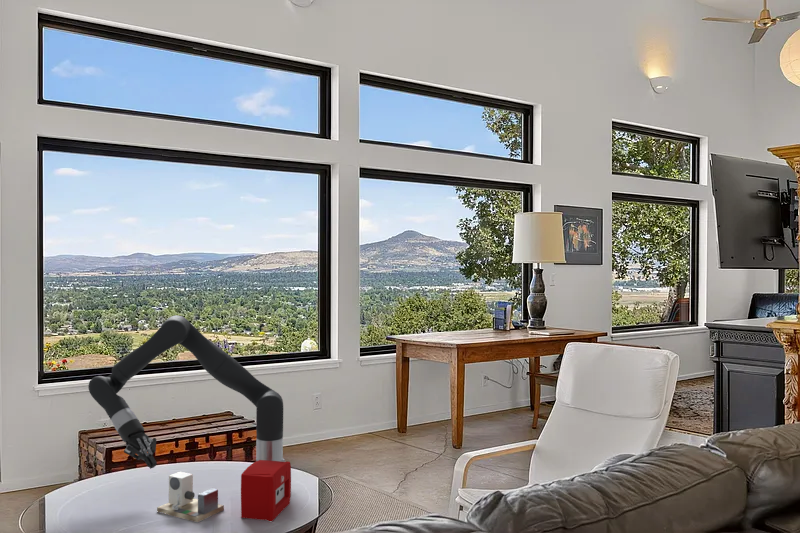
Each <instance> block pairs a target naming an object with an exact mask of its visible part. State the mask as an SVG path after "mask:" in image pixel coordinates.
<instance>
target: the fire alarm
mask: <svg viewBox="0 0 800 533" xmlns="http://www.w3.org/2000/svg"><path fill="white" fill-rule="evenodd" d="M291 496H292V466H291V462H290V461H289V460H288V461H286V460H285V462H280V461H268V460H258V461H256V460H255V461H254V462H253V463H251V464H250V465H249V466H248V467H247V468H245V470H244V471H243V472H242V473H241V475H240V512H241V514H240V518H241V519H250V520H259V521H260V520H261V521H272V522H273V521H274V520H275V519H276V518H277V517H278V516H279V515H280V514H281V513H282V512H283V511H284V510H285V509H286V508H287V507H288V506H289V505H290V503H291Z"/></svg>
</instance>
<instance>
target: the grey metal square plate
mask: <svg viewBox="0 0 800 533" xmlns="http://www.w3.org/2000/svg"><path fill="white" fill-rule="evenodd" d="M197 499H198V513H201V514H206V513H209V512H211V511H213V510H215V509H217V508H218V504H219V489H217V488H214V487H212V488H209V489H207V490H204V491H202V492H200V493H198V494H197Z"/></svg>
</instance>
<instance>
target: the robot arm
mask: <svg viewBox="0 0 800 533" xmlns="http://www.w3.org/2000/svg"><path fill="white" fill-rule="evenodd" d="M177 345H180V346H182V347H183V348H185V349H186V350H187V351H189V352H190V353H191V354H192V355H193V356H194V357H195V358H196V360H197V361H198V363H199V364H200V366H202V368H203V369H204V370H205V371H206V372H207V373H208V374H209V375H210V376H212V378H214V379H215V380H216V381H218V382H219V383H221V384H222V385H223V386H225V387H227V388H229V389H231V390H233V391H235V392H236V393H239V394H241V395H243V397H245V398H246V399H247V400H248V401H250V402H251V403H252V404H253V405H254V406H255V407H256V412H255V413H256V416H255V417H256V418H255V419H256V423H255V424H256V425H255V426H256V428H255V431H256V434H255V435H256V437H255V438H256V443H255V444H256V445H255V446H256V448H255V449H256V452H255V453H256V454H255V455H256V456H255V458H256V459H255V462H256V461H258V460H268V461H280V462H286V459H285V458H284V454H283V453H284V452H283V451H284V442H283V440H284V439H283V438H284V400H283V398H282V395H280V394H279V392H277V391H275V389H272V388H270V387H269V386H267V385H266V384H264V383H263V382H261V381H260V380H258V379H257V378H256V377H255V376H254V375H253V374H252V373H251V372H249V370H248V369H247V368H245V367H244V366H243V365H242V364H241V363H240V362H239V361H237V360H236V358H235V359H234V357H233V356H231V355H230V354H229V353H227V352H226V351H225V350H223V349H222V348H220V347H219V346H218V345H216V344H215V343H214V342H213V341H211V340H209V339H208V337H206V336H204V334H202V333H201V332H200V331H199V330H198V329H197V327H195V326H194V325H193V324H192V323H191V322H190V321H189V320H188V319H187V318H186V317H184V316H182V315H178V314H177V315H176V314H175V315H172V316H170V317H168V318H167V319H166V320H165V321H164V322H162V324H161V326H160V327H159V329H158V330H157V331H156V332H154V334H153V335H152V336H151V337H150V338H149V339H148V340H147V341H145V342H144V343H143V344H142V345H140V346H138V347H137V348H136V349H134V350H132V351H130V353H128V354H126V356H124V357H123V358H121V359H119V361H118V362H117V363H116V364H114V365H113V366H112V367H111V374H109V375H108V376H102V375H98V376H94V377H92V378H91V379H90V381H89V382H88V385H87V386H88V392H89V394H90V396H91V397H92V398H93V399H94V401H95V402H97V404H98V405H99V406H100V407H101V408H102V409H103V410H104V411H105V412H106V415H107V416H108V418H109V419H110V422H111V423H112V425H113V426H114V429H115V431H117V432H116V433H118V435H119V437H120V438H121V441H122V442H123V443H125V445H126V448H125V449H124V450H123V453H125V454H127V455H128V456H130V457H132V458H134V459H135V460H137V461H140V460H142V461H144V463H145V464H146V466H147V467H148V468H149V469H150V470H151V469H155V467H156V466H157V461H156V459H155V457H154V453H156V450H157V449H156V448H157V438H155V437H153V438H151V437H149V435H148V434H146V432H145V428H144V426H143V425H142V423H141V422H140V420H139V418H138V417H137V415H136V414H135V412H134V411H133V410H132V408H130V406H129V405H128V403H127V402H126V400H125V399H124V398H123V396H120V395H118V393H119V392H120V391H121V389H123V388H124V386H125V385H126V383H127V382H128V381H130V380H131V379H132V378H133V377H134V376H136V375H137V374H138V373H140V372H141V371H142V370H143V369H144V368H145V367H147V366H148V365H149V364H150V363H151V362H152V361H153V360H155V359H156V358H157V357H159V356H160V355H161V354H163V353H165V352H166V351H168V350H169V349H171V348H174V347H175V346H177Z"/></svg>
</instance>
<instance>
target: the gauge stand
mask: <svg viewBox="0 0 800 533" xmlns="http://www.w3.org/2000/svg"><path fill="white" fill-rule="evenodd" d="M172 505H174V504H169V502H167V503H164V504H162V505H160V506H158V507H156V508H157V509H156V512H157V511H158V512H157V513H159V512H163V513H166V514H165V515H167V514H168V516H171V517H174V518H175V517H176V518H179V519H183V520H186V519H187V521H192V522H194V523H199V522H201V521H205V519H207V518H209V517H212V516H214V515H216V514H218V513H221V512H223V511H224V510H225V505H223V504H220V503H218V508H217V509H215V510H213V511H211V512H209V513H206V514H201V513H198V498H195V497H194V498H193V502H191V503H188V504H186V505H184V506H182V508H181V509H179V510H174V509H172ZM163 513H162V514H163Z"/></svg>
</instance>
